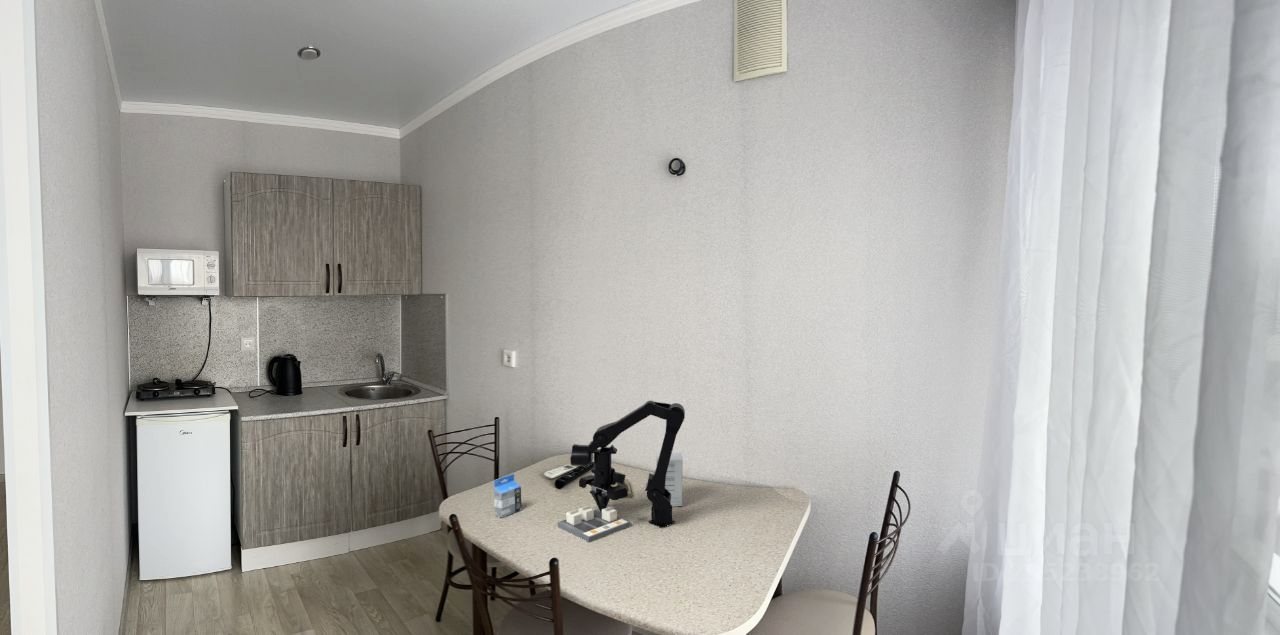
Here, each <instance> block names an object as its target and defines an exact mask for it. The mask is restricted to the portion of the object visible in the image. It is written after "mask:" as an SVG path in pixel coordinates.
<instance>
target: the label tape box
mask: <svg viewBox="0 0 1280 635" xmlns="http://www.w3.org/2000/svg"><path fill="white" fill-rule="evenodd" d="M504 480H505V481H504ZM493 497H494V498H493V499H494V500H493V501H494V516H495V515H496V516H495V517H497V516H499V517H498V518H500V517H502V518H501V519H503V518H506V517H508V516H510V515H513V514H515V513H517V512H520V511H522V510H523V509H522V506H523V505H522V487H521V485H519V483H517V482H516V481H515V473H512V474H510V475H506V476H503V477H499V478H497V479H494V480H493ZM507 515H508V516H507ZM505 516H506V517H505Z"/></svg>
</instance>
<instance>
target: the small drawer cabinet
mask: <svg viewBox="0 0 1280 635" xmlns="http://www.w3.org/2000/svg"><path fill="white" fill-rule="evenodd" d="M659 455H660V452H657V453H656V466H657V463H658V459H659ZM683 472H684V471H683V457H682V453H681V452H672V454H671V457H670V461H669V465H668V469H667V473H666V483H665V488H666V489H667V490H668V491H669V492H670V493H671V505H672V506H682V507H683V480H684V479H683V478H684V477H683V476H684V475H683Z"/></svg>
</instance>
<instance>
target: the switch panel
mask: <svg viewBox="0 0 1280 635" xmlns="http://www.w3.org/2000/svg"><path fill="white" fill-rule="evenodd" d="M593 510H594V519H591V520H588V521H585V520H583V519H582V523H580V524H577V525H572V524H570V523H568V522H566V519H563V520H560V521H558V522H557V527H558V528H559V529H561V530H563V531H565V532H567V533H570V534H571V533H572V534H571V535H573V536H575V537H577V538H579V537H580V538H579V539H581V538H582V539H581V540H583V539H584V540H583V541H585V540H586V541H585V542H587V541H588V542H587V543H591V542H594V541H596V539H597V540H599V539H601V537H602V538H604V536H605V537H606V536H609V534H610V535H612V534H615V533H617V531H618V532H620V531H622V529H623V530H625V529H627V527H628V528H630V527H631V521H629V520H626V519H625V518H622V517H619V516H617V520H614V521H611V522H609V521H606V520H604V519H602V513H601V512H600V510H599V508H596V509H593ZM629 526H630V527H629ZM624 528H625V529H624ZM614 532H615V533H614ZM593 540H594V541H593ZM590 541H591V542H590Z"/></svg>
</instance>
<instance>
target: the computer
mask: <svg viewBox="0 0 1280 635" xmlns="http://www.w3.org/2000/svg"><path fill="white" fill-rule="evenodd" d="M618 485H619V486H622V487H625V488H626V489H627V490H628V496H627V497H624V498H621V499H623V500H624V499H632V498H633V494H632V491H631V486H630V482H629V479H627V478H625V480H624V484H621V483H616V484H615V485H611V486H613V487H615V486H618ZM621 499H620V500H621Z"/></svg>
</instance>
